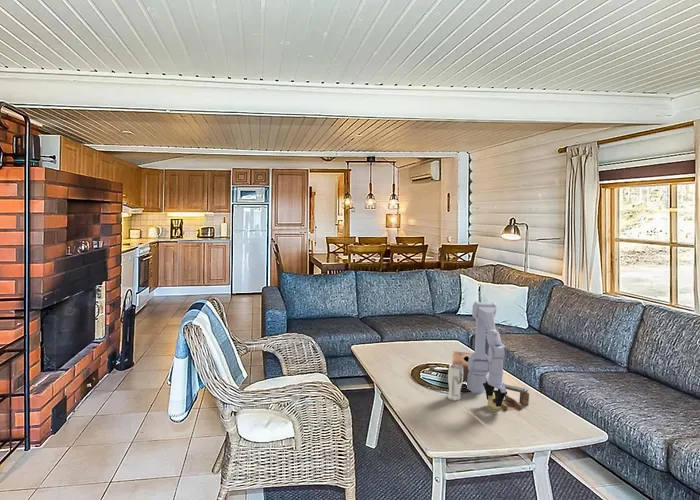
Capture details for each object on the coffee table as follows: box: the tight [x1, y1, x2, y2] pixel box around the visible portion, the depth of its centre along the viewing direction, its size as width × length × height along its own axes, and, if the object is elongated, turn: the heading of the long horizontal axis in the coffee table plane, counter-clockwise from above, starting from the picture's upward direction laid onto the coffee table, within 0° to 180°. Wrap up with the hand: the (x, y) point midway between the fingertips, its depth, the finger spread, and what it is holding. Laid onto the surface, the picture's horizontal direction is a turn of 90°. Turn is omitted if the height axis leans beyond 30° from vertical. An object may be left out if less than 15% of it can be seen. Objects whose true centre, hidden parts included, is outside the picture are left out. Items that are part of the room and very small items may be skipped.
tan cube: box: [487, 394, 501, 410], centre depth 212 cm, size 4×4×5 cm
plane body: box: [501, 392, 530, 411], centre depth 217 cm, size 12×15×6 cm
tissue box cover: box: [451, 350, 474, 382], centre depth 254 cm, size 26×14×10 cm, turn 167°
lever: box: [503, 383, 529, 393], centre depth 222 cm, size 3×14×1 cm, turn 56°
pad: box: [484, 404, 504, 412], centre depth 212 cm, size 6×6×1 cm
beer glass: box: [447, 364, 464, 402], centre depth 222 cm, size 7×7×15 cm
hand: (493, 402), depth 212 cm, fingers open, 7 cm apart
